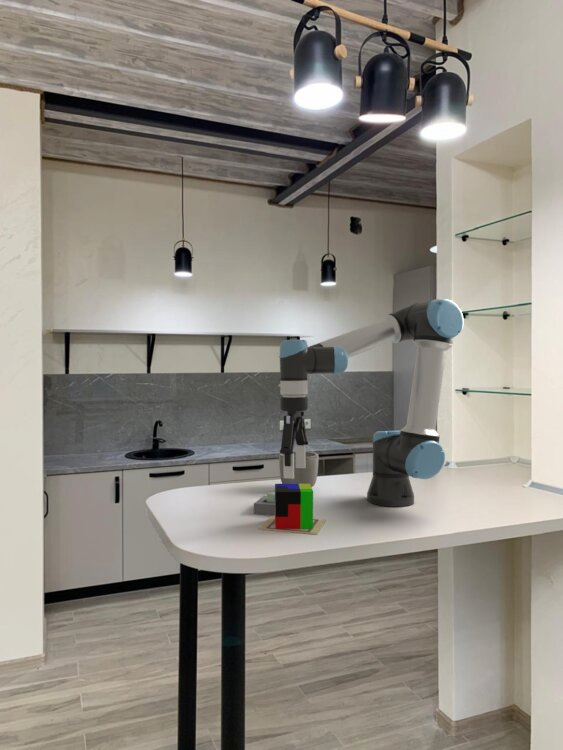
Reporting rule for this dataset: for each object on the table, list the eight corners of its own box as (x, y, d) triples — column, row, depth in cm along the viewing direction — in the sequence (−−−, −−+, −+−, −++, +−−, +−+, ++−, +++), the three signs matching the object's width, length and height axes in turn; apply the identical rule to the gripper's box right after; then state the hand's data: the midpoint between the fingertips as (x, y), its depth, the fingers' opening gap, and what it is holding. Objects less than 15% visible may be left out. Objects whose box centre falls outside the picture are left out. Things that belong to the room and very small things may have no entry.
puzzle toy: (274, 518, 156) (275, 483, 156) (309, 518, 157) (310, 483, 157) (275, 529, 146) (275, 491, 146) (312, 529, 147) (313, 491, 147)
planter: (272, 493, 188) (272, 455, 188) (287, 485, 201) (287, 449, 201) (310, 497, 183) (311, 458, 183) (323, 488, 196) (323, 452, 196)
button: (284, 503, 168) (284, 492, 168) (280, 507, 163) (280, 496, 163) (269, 502, 169) (269, 491, 169) (264, 506, 164) (264, 495, 164)
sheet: (325, 520, 156) (325, 519, 155) (316, 534, 143) (316, 533, 143) (271, 516, 160) (271, 515, 160) (258, 529, 147) (258, 528, 147)
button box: (294, 507, 170) (294, 497, 170) (286, 516, 160) (286, 505, 160) (263, 505, 172) (263, 495, 172) (253, 513, 163) (253, 503, 163)
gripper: (291, 393, 164) (292, 463, 164) (267, 399, 140) (269, 482, 140) (316, 393, 162) (317, 464, 162) (296, 399, 138) (297, 483, 138)
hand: (295, 473), depth 151 cm, fingers open, 13 cm apart
